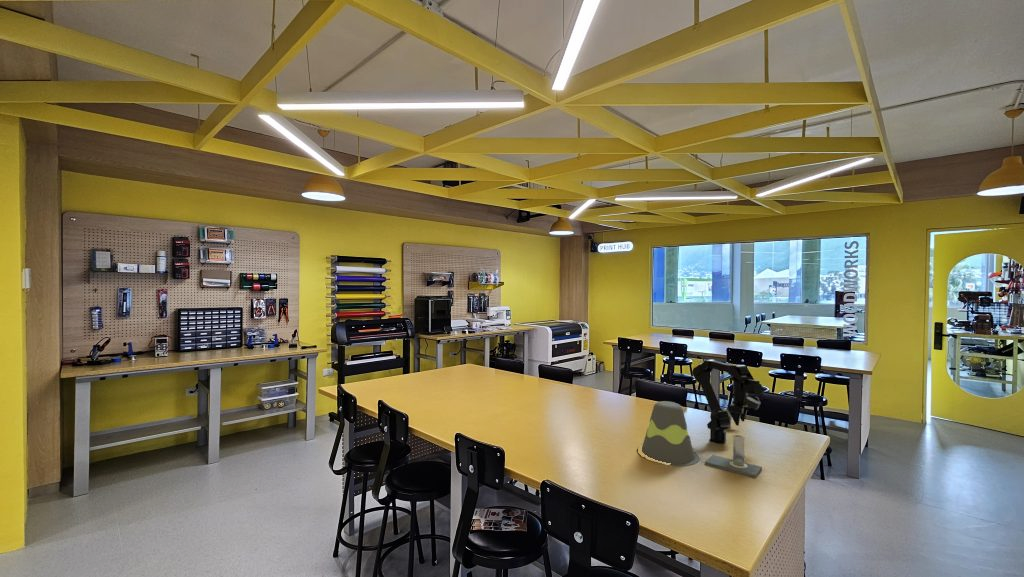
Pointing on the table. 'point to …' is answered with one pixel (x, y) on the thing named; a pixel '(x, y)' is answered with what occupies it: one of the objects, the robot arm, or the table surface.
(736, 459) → the metal pin
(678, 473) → the table surface
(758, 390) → the robot arm
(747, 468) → the mat
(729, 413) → the mechanical component
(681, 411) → the grey tapered cylinder
